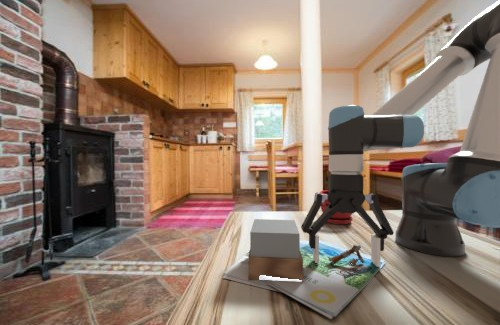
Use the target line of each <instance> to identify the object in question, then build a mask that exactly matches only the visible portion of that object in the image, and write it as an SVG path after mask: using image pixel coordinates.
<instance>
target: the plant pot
mask: <svg viewBox="0 0 500 325" xmlns="http://www.w3.org/2000/svg"><path fill="white" fill-rule="evenodd" d="M328 191H329V189H326V190H325V189H324V190H321V191H320V192H319V193H320V194H326V195H327V194H328ZM329 204H330V203H329V201H328V200H327V199H326V200H325V201H324V203H322V204H321V207H320V209H321V212H322V213H323V212H324V211H325V210H326V208H327V207H328V205H329ZM352 215H353V214H352V213H339V212H336V213H335V214H334V215H333V216H332V217H331V218H330V219H329V220H328V221H327V222H326V223H329V224H333V225H348V224H350V223H351V222H352V221H353V216H352Z"/></svg>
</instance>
